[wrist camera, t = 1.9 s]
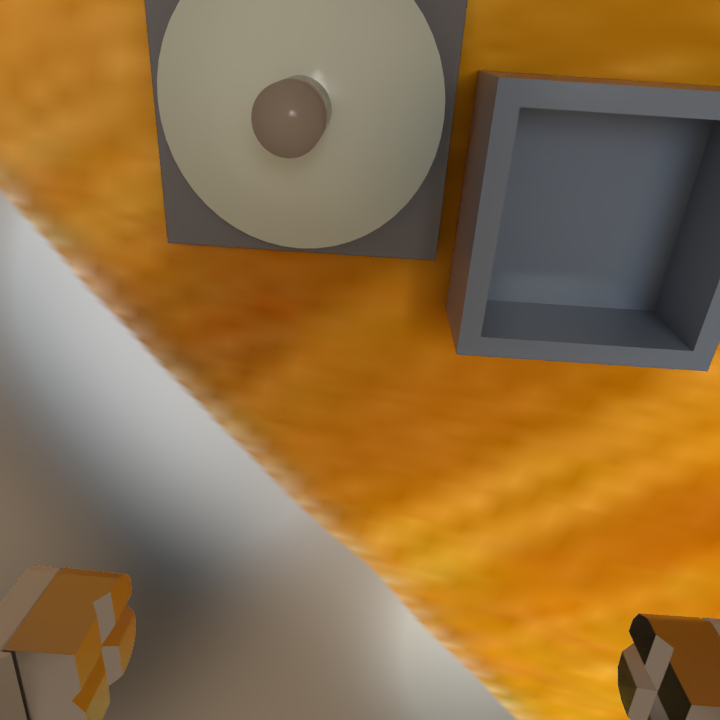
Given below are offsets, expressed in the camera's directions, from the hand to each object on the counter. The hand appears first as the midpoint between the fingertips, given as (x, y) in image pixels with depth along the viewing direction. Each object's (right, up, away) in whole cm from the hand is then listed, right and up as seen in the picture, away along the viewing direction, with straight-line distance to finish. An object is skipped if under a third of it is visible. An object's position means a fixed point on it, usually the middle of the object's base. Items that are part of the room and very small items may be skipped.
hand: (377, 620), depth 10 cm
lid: (-3, +16, +18) cm, 24 cm away
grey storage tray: (+11, +12, +21) cm, 26 cm away
